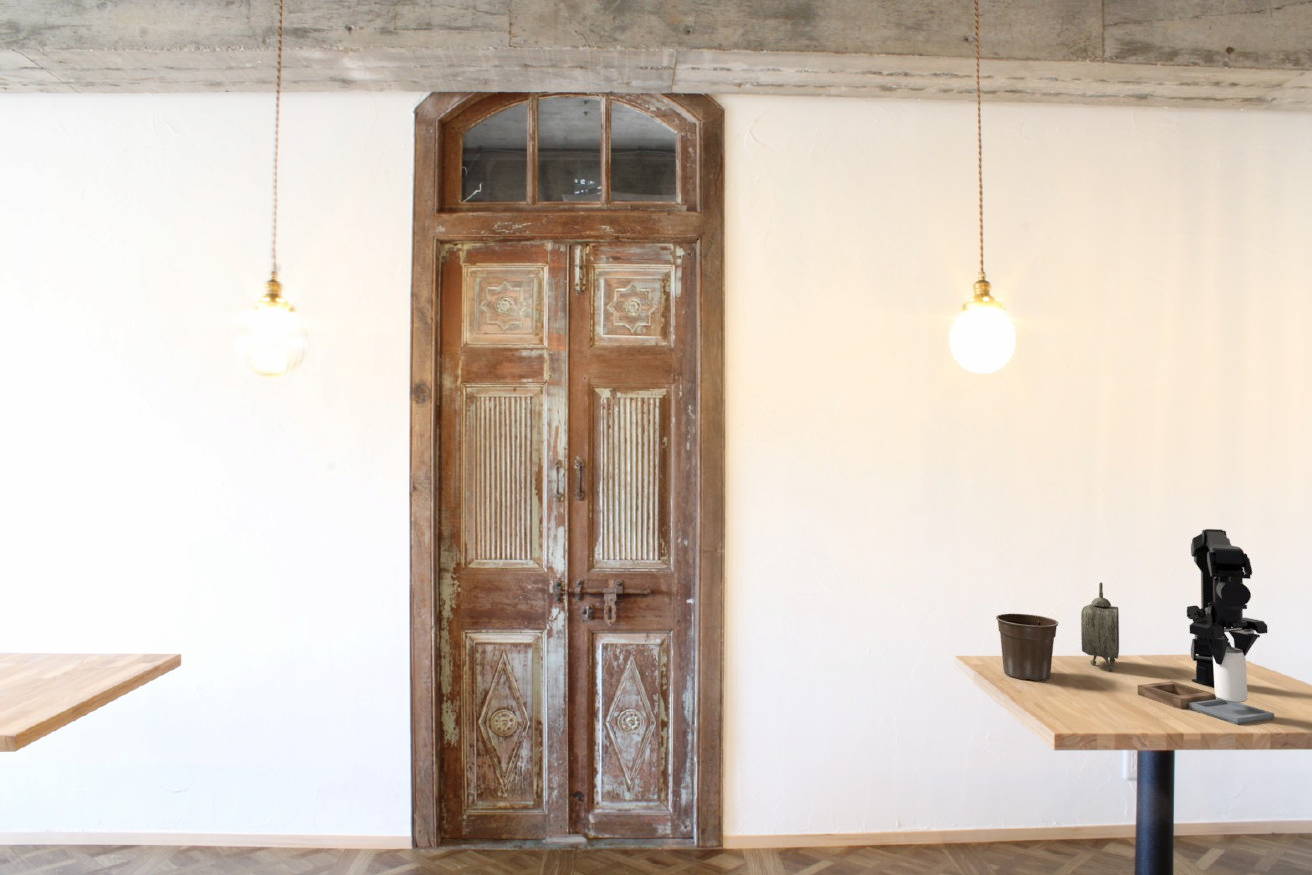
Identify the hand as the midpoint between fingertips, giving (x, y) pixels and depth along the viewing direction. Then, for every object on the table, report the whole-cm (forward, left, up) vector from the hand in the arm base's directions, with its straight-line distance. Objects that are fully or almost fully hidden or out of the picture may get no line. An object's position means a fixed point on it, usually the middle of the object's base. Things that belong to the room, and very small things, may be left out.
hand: (1229, 662), depth 189 cm
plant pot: (+22, -42, -13) cm, 49 cm away
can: (-1, 0, -9) cm, 9 cm away
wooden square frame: (+2, -12, -12) cm, 18 cm away
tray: (0, 0, -12) cm, 12 cm away
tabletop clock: (-6, -43, -13) cm, 45 cm away
